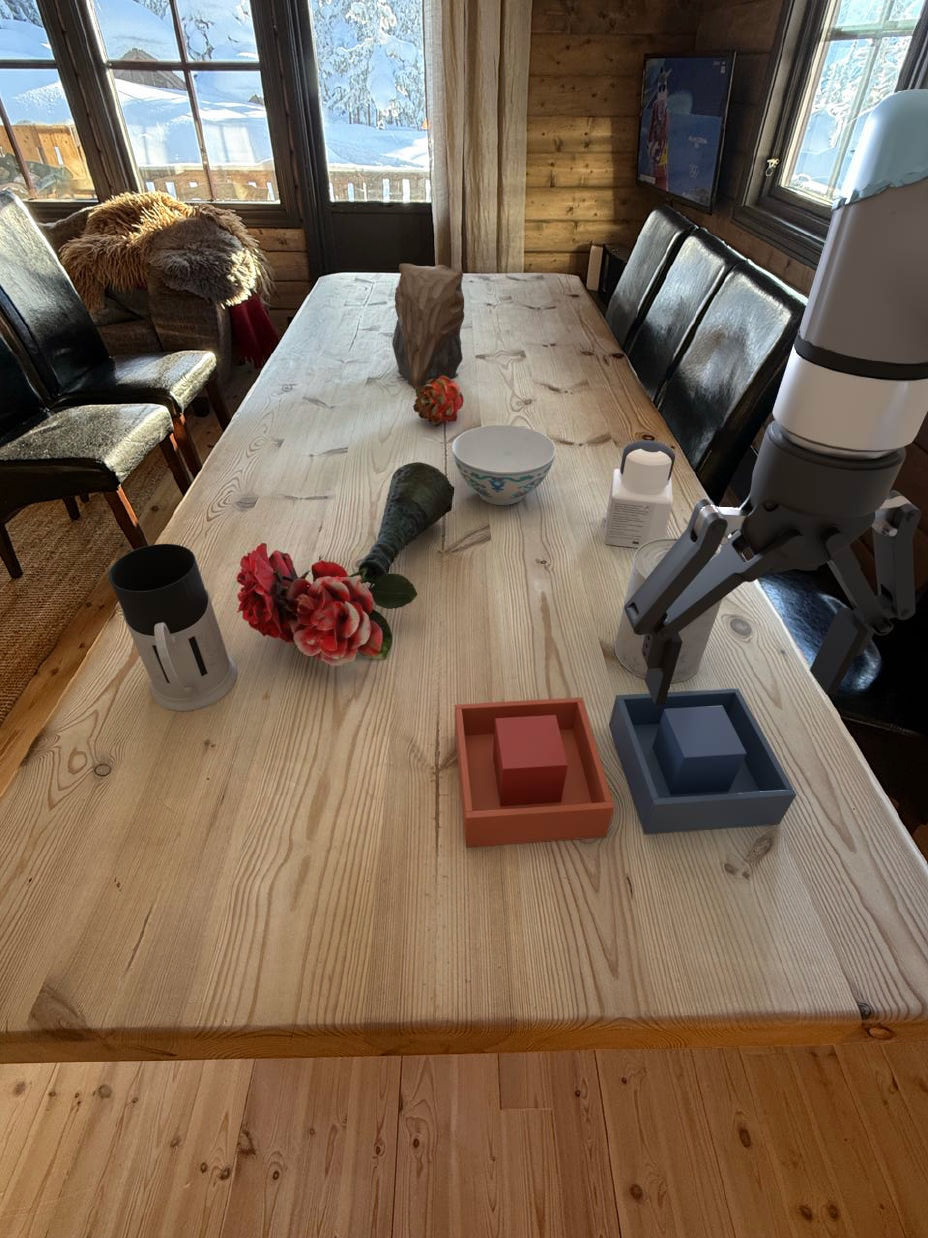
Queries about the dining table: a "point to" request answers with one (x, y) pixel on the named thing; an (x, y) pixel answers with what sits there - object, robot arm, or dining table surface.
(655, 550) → the grey tin can
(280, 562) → the flower vase
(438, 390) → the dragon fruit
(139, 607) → the glass holder
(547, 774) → the red block
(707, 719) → the blue block
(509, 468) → the chinaware
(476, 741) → the red bin
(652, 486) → the container
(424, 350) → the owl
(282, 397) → the dining table surface
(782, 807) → the blue bin
